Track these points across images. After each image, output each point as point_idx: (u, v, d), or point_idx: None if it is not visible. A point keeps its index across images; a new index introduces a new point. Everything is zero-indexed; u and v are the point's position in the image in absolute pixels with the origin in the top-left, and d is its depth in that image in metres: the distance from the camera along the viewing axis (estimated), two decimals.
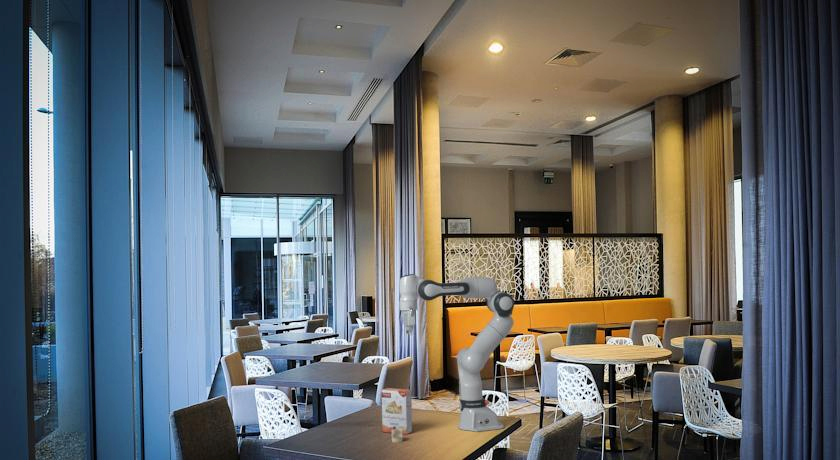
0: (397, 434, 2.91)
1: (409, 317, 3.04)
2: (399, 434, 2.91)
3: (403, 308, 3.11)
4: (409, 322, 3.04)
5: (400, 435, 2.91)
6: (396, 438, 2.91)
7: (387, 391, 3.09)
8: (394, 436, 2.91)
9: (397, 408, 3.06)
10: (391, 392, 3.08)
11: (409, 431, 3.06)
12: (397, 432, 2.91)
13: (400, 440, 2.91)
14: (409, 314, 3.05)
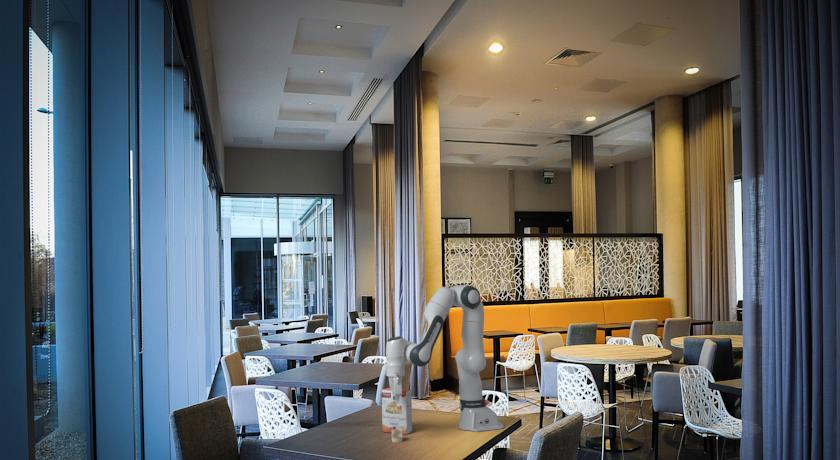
0: (396, 434, 2.91)
1: (395, 385, 2.85)
2: (399, 434, 2.91)
3: (389, 374, 2.92)
4: (395, 390, 2.85)
5: (400, 435, 2.91)
6: (396, 438, 2.91)
7: (387, 391, 3.09)
8: (394, 436, 2.91)
9: (397, 408, 3.06)
10: (391, 392, 3.08)
11: (409, 431, 3.06)
12: (397, 432, 2.91)
13: (400, 440, 2.91)
14: (395, 382, 2.86)
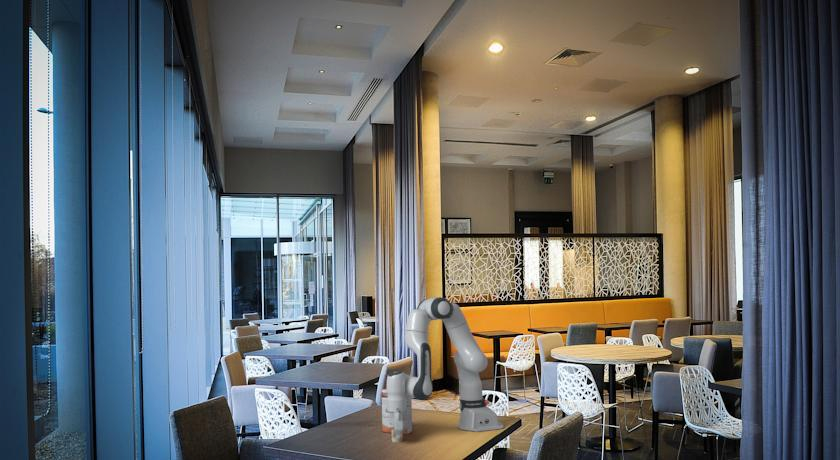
0: None
1: (396, 421, 2.84)
2: None
3: (390, 409, 2.90)
4: (396, 426, 2.83)
5: (400, 435, 2.91)
6: (396, 438, 2.91)
7: None
8: (394, 436, 2.91)
9: None
10: None
11: (409, 431, 3.06)
12: None
13: (400, 440, 2.91)
14: (396, 418, 2.84)
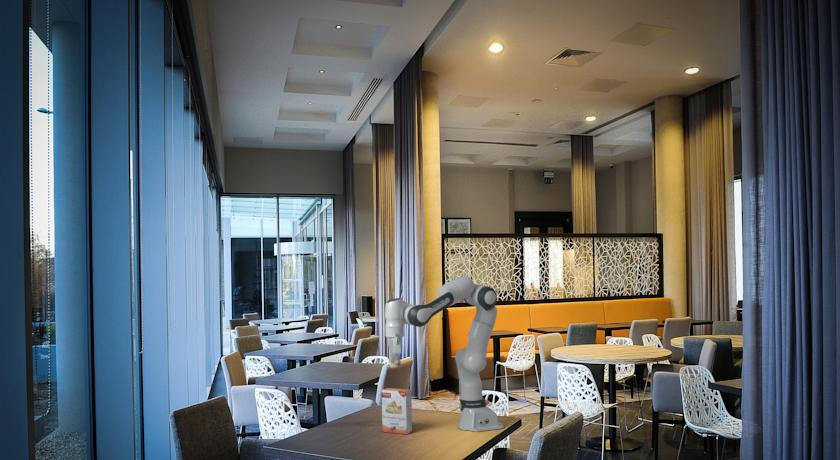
0: None
1: (395, 345, 2.87)
2: None
3: (389, 335, 2.93)
4: (394, 350, 2.86)
5: (398, 360, 2.94)
6: (394, 363, 2.94)
7: (387, 391, 3.09)
8: (392, 361, 2.93)
9: (397, 408, 3.06)
10: (391, 392, 3.08)
11: (409, 431, 3.06)
12: None
13: (398, 365, 2.94)
14: (395, 342, 2.87)
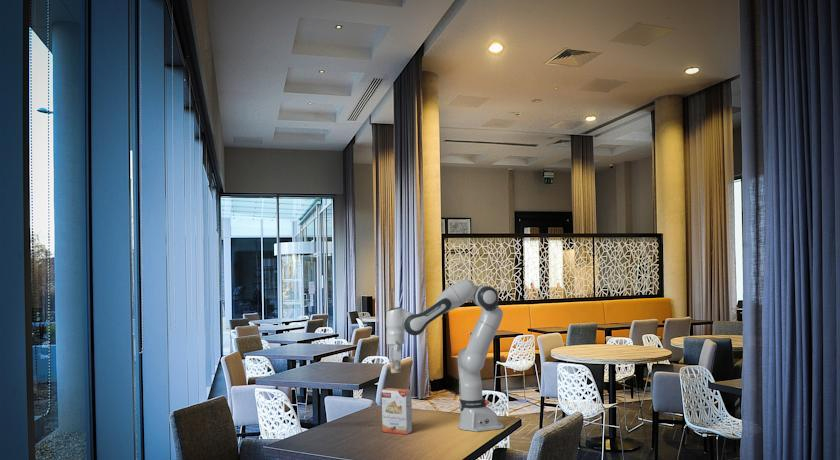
0: None
1: (395, 352, 3.02)
2: None
3: (389, 342, 3.09)
4: (395, 357, 3.02)
5: None
6: (395, 369, 3.09)
7: (387, 391, 3.09)
8: (393, 367, 3.09)
9: (397, 408, 3.06)
10: (391, 392, 3.08)
11: (409, 431, 3.06)
12: None
13: (398, 371, 3.09)
14: (395, 349, 3.03)
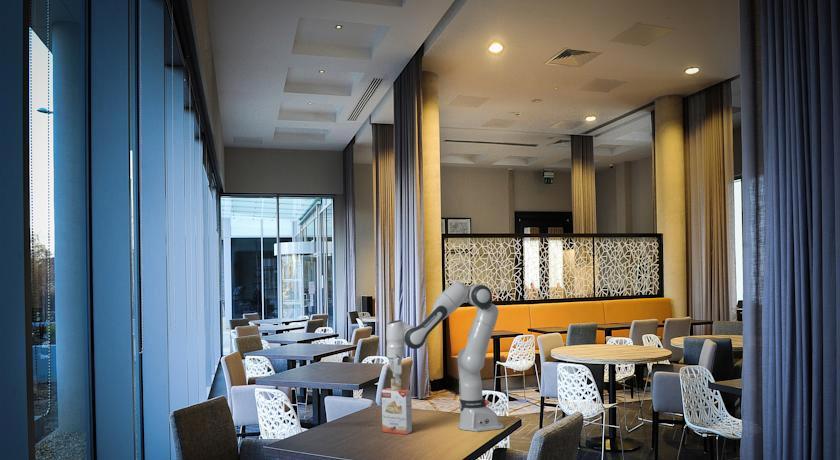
0: (396, 383, 3.08)
1: (395, 365, 3.02)
2: None
3: (390, 355, 3.08)
4: (395, 370, 3.01)
5: (399, 383, 3.09)
6: (395, 386, 3.08)
7: (387, 391, 3.09)
8: (393, 384, 3.08)
9: (397, 408, 3.06)
10: (391, 392, 3.08)
11: (409, 431, 3.06)
12: None
13: (399, 388, 3.08)
14: (395, 362, 3.02)
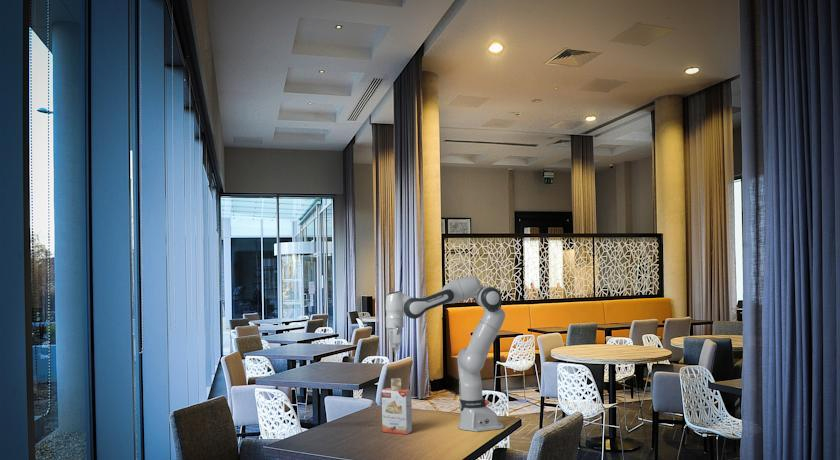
0: (396, 383, 3.08)
1: (395, 335, 3.03)
2: (398, 382, 3.09)
3: (389, 326, 3.09)
4: (394, 340, 3.02)
5: (399, 383, 3.09)
6: (395, 386, 3.08)
7: (387, 391, 3.10)
8: (393, 384, 3.08)
9: (397, 408, 3.06)
10: (391, 392, 3.08)
11: (409, 431, 3.06)
12: (396, 380, 3.09)
13: (399, 388, 3.08)
14: (395, 332, 3.03)
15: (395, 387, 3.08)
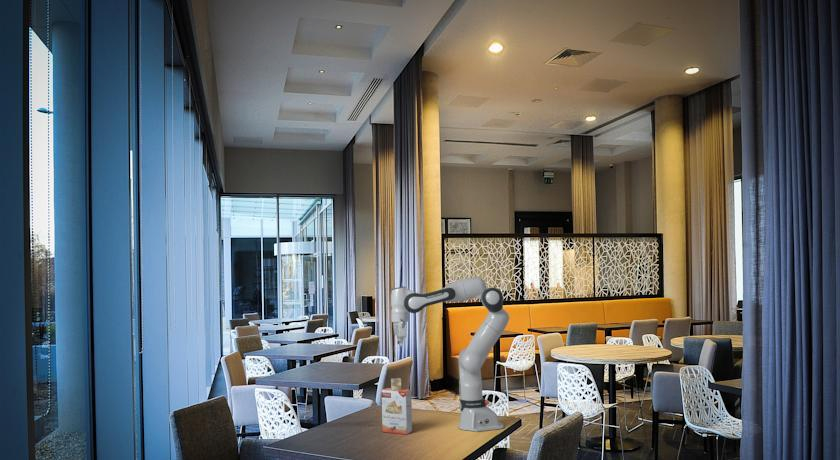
0: (396, 383, 3.08)
1: (400, 329, 3.15)
2: (398, 382, 3.09)
3: (394, 320, 3.22)
4: (399, 333, 3.15)
5: (399, 383, 3.09)
6: (395, 386, 3.08)
7: (387, 391, 3.09)
8: (393, 384, 3.08)
9: (397, 408, 3.06)
10: (391, 392, 3.08)
11: (409, 431, 3.06)
12: (396, 380, 3.09)
13: (399, 388, 3.08)
14: (400, 326, 3.16)
15: (395, 387, 3.08)
